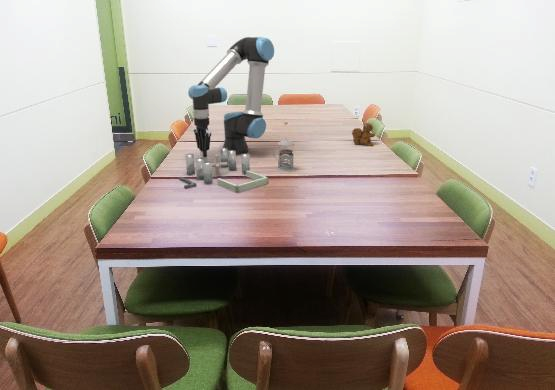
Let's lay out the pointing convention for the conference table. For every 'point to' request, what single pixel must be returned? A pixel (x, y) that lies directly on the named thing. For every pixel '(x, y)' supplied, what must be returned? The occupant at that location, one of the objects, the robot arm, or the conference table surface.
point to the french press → (285, 157)
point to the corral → (257, 182)
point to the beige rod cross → (218, 164)
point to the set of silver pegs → (206, 167)
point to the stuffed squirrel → (363, 135)
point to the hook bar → (190, 183)
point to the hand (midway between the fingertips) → (204, 162)
